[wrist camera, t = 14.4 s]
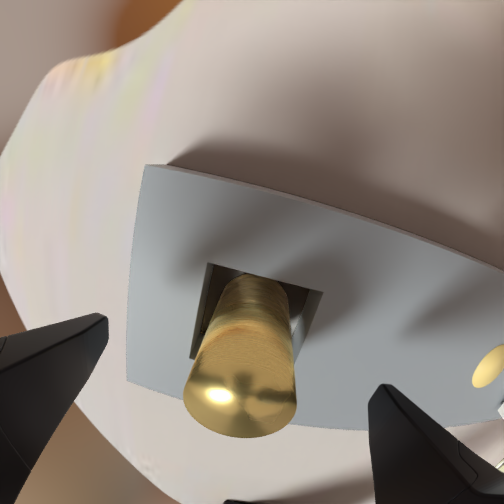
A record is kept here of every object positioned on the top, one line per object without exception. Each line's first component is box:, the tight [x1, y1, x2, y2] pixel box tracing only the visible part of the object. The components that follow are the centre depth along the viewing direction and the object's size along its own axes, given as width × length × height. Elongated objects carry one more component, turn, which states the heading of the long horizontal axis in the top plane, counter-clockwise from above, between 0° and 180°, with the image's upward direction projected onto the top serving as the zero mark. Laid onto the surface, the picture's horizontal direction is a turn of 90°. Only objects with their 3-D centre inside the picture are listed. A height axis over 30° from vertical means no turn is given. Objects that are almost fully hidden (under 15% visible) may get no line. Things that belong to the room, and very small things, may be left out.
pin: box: [183, 274, 297, 438], centre depth 10 cm, size 3×3×6 cm
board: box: [126, 165, 504, 431], centre depth 11 cm, size 10×32×2 cm, turn 76°
